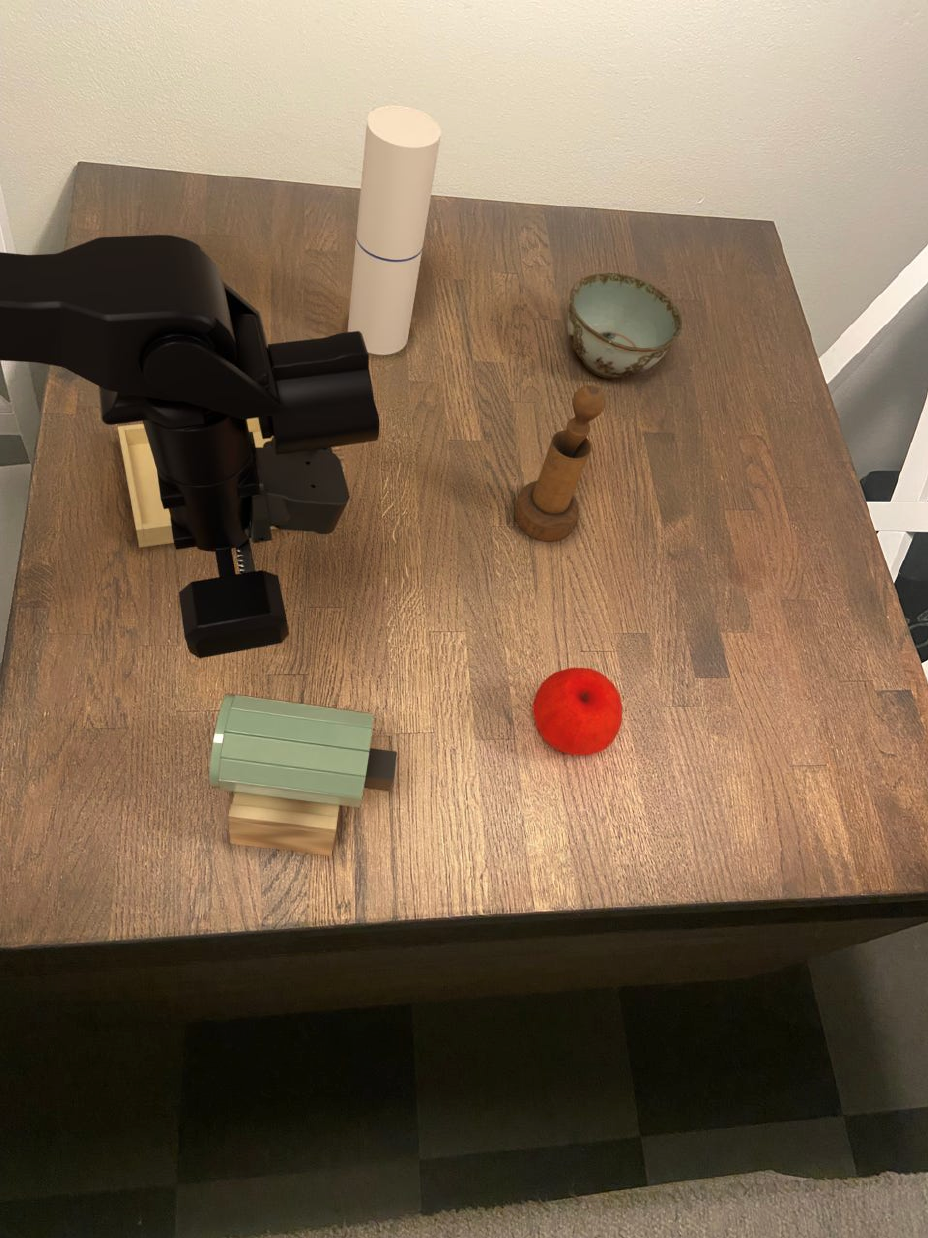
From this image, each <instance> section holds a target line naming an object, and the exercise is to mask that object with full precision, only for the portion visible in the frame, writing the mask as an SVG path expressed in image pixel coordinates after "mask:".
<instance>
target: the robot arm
mask: <svg viewBox="0 0 928 1238" xmlns="http://www.w3.org/2000/svg"><path fill="white" fill-rule="evenodd" d="M262 320H263V319H262V316H261V312H260V311H259V310H258V309H257V308H256V307H255V306H253V305H252V304H251V303H249V301H247V299H245V298H244V297H242V296H241V295H240V294H239V293H238V292H236V291H235V290H234V289H233V288H232V287H230V286H229V285H228V284H227V283H226V282H225V281H224V280H223V276H222V274H221V272H220V270H219V268H218V265H217V263H216V262H215V261H214V260H212V258H211V257H210V256H209V255H208V254H207V253H206V252H205V251H204V250H203V249H202V247H201V245H199V244H197V243H196V242H194V241H193V240H189V239H188V238H183V237H180V236H177V235H170V234H150V235H148V234H145V235H121V236H120V235H119V236H99V237H96V238H94V239H91V240H88V241H86V242H83V243H81V244H77V245H76V246H73V247H70V248H68V249H66V250H63V251H60V252H56V253H42V254H21V253H11V252H2V251H1V252H0V361H2V362H3V361H5V362H19V363H20V362H22V363H36V364H37V363H38V364H42V365H48V366H54V367H59V368H63V369H65V370H67V371H69V372H71V373H73V374H75V375H77V376H79V377H81V378H83V379H85V380H87V381H88V382H90V383H92V384H94V385H96V386H98V395H99V403H100V404H99V405H100V414H101V415H100V416H101V421H102V422H103V423H104V424H105V425H108V426H114V425H121V424H129V423H136V422H142V424H144V428H145V431H146V435H147V438H148V441H149V445H150V448H151V451H152V455H153V458H154V462H155V465H156V469H157V475H158V483H159V490H160V498H161V502H162V505H163V508H164V509H169V512H170V516H171V517H170V519H171V527H172V534H173V541H174V543H173V544H174V548H175V551H177V550H178V551H179V550H185V549H191V548H196V549H197V550H199V551H203V552H210V553H214V554H215V560H216V565H217V571H218V577H211V578H206V579H200V580H194V581H190V582H189V583H188V584H187V585H185V587H183V588H182V589H181V590H180V591H179V592H178V598H179V605H180V613H181V622H182V627H183V635H184V639H185V643H186V646H187V648H188V652H189V653H190V654H192V655H193V656H195V657H197V658H198V659H204V658H211V657H216V656H221V655H227V654H231V653H236V652H237V653H238V652H243V651H247V650H253V649H259V648H265V647H269V646H274V645H281V644H283V643H284V642H285V641H286V639H287V638H288V637H289V635H290V630H289V624H288V617H287V613H286V607H285V603H284V596H283V592H282V588H281V582H280V578H279V575H277V574H274V573H272V572H269V571H267V570H264V569H260V570H256V566H255V561H254V555H253V550H252V545H251V543H252V544H260V543H265V542H271V541H273V535H272V529H271V528H270V526H274V527H275V528H278V530H280V531H281V530H282V531H297V532H310V533H311V532H312V533H316V534H317V535H329V534H331V533H333V532H334V531H335V529H336V528H337V525H338V523H339V522H340V519H341V518H342V515H343V513H344V511H345V509H346V507H347V505H348V503H349V501H350V491H349V487H348V483H347V480H346V476H345V472H344V470H343V469H344V467H343V465H342V462H341V461H342V460H341V459H340V457H339V456H338V455H337V454H336V453H335V452H333V448H337V447H342V446H351V445H357V444H364V443H372V442H377V441H378V440H379V437H380V415H379V412H378V409H377V405H376V403H375V396H374V390H373V383H372V377H371V372H370V356H369V353H368V352H367V348H366V345H365V342H364V339H363V335H362V333H361V332H359V331H354V332H348V331H346V332H345V331H344V332H340V333H335V334H333V335H328V336H325V337H320V338H319V337H318V338H311V339H302V340H292V341H286V342H285V341H284V342H283V341H282V342H276V343H268V342H267V337H266V333H265V329H264V325H263V321H262ZM252 418H258V420H259V425H260V430H261V434H262V438H263V439H268V438H272V440H271V441H268V442H266V443H264V445H263V447H256V446H255V441H254V436H253V432H249V429H248V424H247V419H252ZM272 436H273V437H272ZM233 549H235V554H236V560H237V567H238V571H239V573H236V567H235V562H234V556H233Z"/></svg>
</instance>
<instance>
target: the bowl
mask: <svg viewBox="0 0 928 1238" xmlns="http://www.w3.org/2000/svg"><path fill="white" fill-rule="evenodd" d="M567 313H568V314H567V321H566V323H567V333H568V338H569V340H570V343H571V346H572V348H573V349H574V351H575V353H576V355H577V356H578V357H579V359H580V360H582V363H583V364H584V366H585V367H586V369H588V371H589V372H590V373H592V374H594V375H595V376H598V377H600V378H605V379H619V378H621V377H628V376H633V375H637V374H639V373H643V372H645V371H647V370H649V369H650V368H652V367H653V366H654V365H656V364H657V363H658V362H659V361H660V360H661V359H663V358H664V356H665V355H666V353H667V352H668V350H669V349H670V347H671V346H672V345H673V344H674V343H675V342H676V341H677V340H678V338H679V336H680V335H681V332H682V329H683V319H682V315H681V313H680V310H679V309H678V307H677V306H676V305H675V303H674V301H673V300H672V299H671V298H670V297H669V296H667V295H666V294H665V293H664V292H663V291H662V290H660V289H659V288H658V287H656V286H655V285H653V284H652V283H649V282H647V281H645V280H643V279H641V278H638V277H635V276H632V275H627V274H623V273H618V272H603V273H602V272H601V273H595V274H590V275H587V276H585V277H583V278H581V279H579V280H578V281H577V282H575V283H574V285H573V287H572V288H571V290H570V295H569V307H568V311H567Z"/></svg>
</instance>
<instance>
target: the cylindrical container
mask: <svg viewBox="0 0 928 1238" xmlns="http://www.w3.org/2000/svg"><path fill="white" fill-rule="evenodd" d="M365 128H366V129H365V139H364V150H363V160H362V170H361V182H360V192H359V203H358V214H357V226H356V235H355V236H356V237H355V245H354V246H355V247H354V248H355V249H354V257H353V258H354V259H353V270H352V280H351V291H350V299H349V300H350V301H349V312H348V323H347V332H354V331H359V332H361V333H362V335H363V339H364V342H365V345H366V348H367V352H368V354H372V355H376V356H388V355H392V354H396V353H399V352H400V351H401V350H403V349H404V348H405V347H406V346H407V344H408V340H409V333H410V328H411V322H412V315H413V311H414V310H413V309H414V304H415V297H416V291H417V285H418V278H419V273H420V272H419V271H420V266H421V259H422V254H423V247H424V241H425V235H426V229H427V222H428V216H429V211H430V205H431V197H432V191H433V187H434V181H435V180H434V179H435V173H436V167H437V161H438V154H439V148H440V142H441V135H442V130H441V126H440V124H439V123H438V122H437V121H436V120H435V119H434V118H433V117H431V116H430V115H428V114H427V113H425V112H423V111H421V110H419V109H416V108H413V107H408V106H403V105H385V106H381V107H378V108H375V109H373V111H371V112H370V113H369V114H368V116H367V119H366V126H365Z"/></svg>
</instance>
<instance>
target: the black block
mask: <svg viewBox="0 0 928 1238" xmlns="http://www.w3.org/2000/svg"><path fill="white" fill-rule="evenodd" d="M397 757H398V751H395V750H387V749H380V748H372V747H370V751H369V758H368V765H367V772H366V778H365V784H364V789H365V790H374V791H382V792H391V791H392V788H393V784H394V782H395V774H396V765H397Z"/></svg>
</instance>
